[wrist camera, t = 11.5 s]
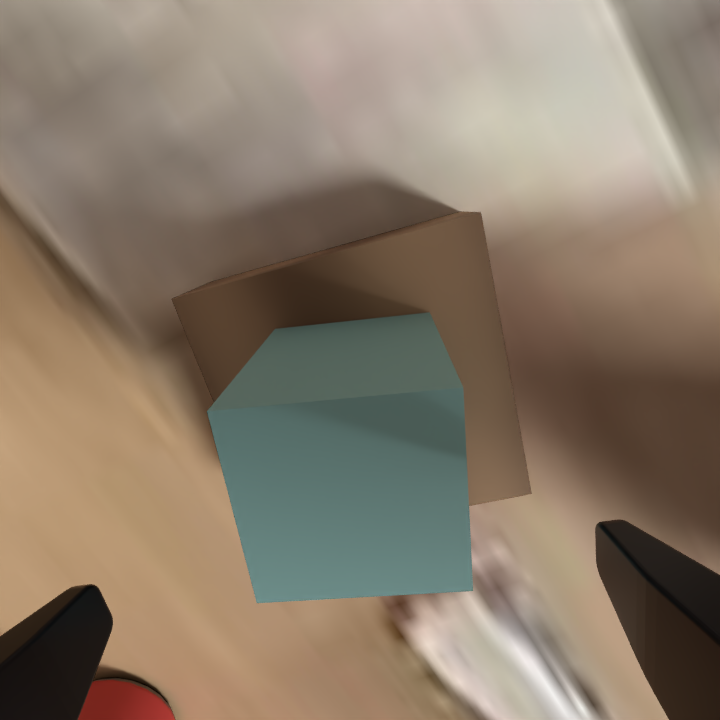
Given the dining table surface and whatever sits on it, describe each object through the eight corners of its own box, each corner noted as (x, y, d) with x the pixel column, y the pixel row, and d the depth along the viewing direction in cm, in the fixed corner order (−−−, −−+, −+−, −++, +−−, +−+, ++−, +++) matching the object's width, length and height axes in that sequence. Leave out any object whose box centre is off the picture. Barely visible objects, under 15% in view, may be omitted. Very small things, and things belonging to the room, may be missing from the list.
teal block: (429, 312, 14) (463, 387, 8) (439, 450, 16) (473, 590, 10) (274, 328, 14) (206, 411, 9) (300, 461, 16) (256, 603, 10)
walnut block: (458, 211, 17) (481, 212, 13) (503, 439, 20) (531, 493, 16) (215, 279, 18) (171, 298, 14) (291, 483, 21) (272, 544, 17)
